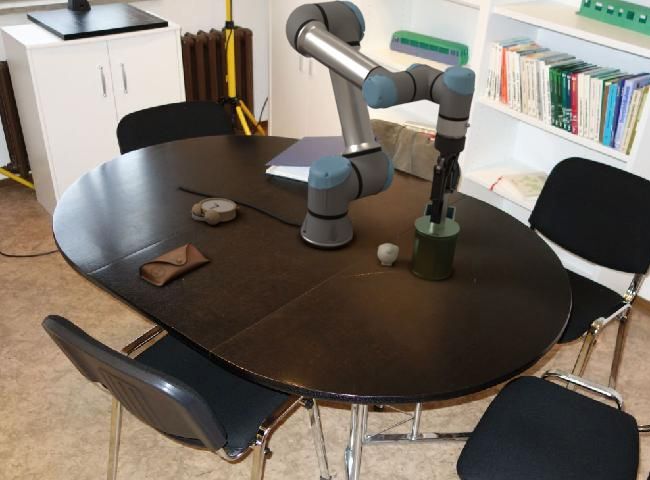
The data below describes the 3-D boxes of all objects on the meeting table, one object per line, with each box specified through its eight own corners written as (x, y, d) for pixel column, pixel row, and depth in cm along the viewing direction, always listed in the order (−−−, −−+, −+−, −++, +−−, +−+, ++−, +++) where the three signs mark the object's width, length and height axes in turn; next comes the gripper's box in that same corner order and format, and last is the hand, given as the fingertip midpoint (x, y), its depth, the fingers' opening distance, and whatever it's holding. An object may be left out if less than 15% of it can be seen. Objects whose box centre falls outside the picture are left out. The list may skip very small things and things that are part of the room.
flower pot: (449, 247, 201) (454, 219, 196) (419, 243, 202) (423, 215, 197) (451, 233, 208) (456, 206, 203) (422, 229, 209) (426, 202, 204)
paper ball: (376, 266, 190) (377, 248, 186) (377, 256, 194) (379, 238, 191) (397, 268, 189) (399, 250, 186) (397, 258, 194) (400, 240, 191)
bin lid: (410, 235, 179) (415, 196, 173) (417, 216, 189) (422, 178, 183) (456, 243, 177) (463, 204, 171) (461, 223, 187) (468, 185, 181)
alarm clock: (244, 205, 210) (210, 214, 199) (242, 220, 212) (209, 230, 201) (217, 194, 215) (182, 202, 204) (215, 209, 217) (181, 218, 206)
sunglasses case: (161, 286, 175) (149, 262, 173) (146, 290, 179) (135, 266, 178) (212, 260, 187) (202, 237, 185) (197, 263, 192) (187, 241, 190)
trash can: (407, 276, 186) (412, 234, 179) (414, 256, 195) (419, 216, 188) (448, 283, 184) (455, 242, 177) (453, 263, 193) (460, 223, 186)
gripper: (454, 147, 161) (440, 235, 174) (476, 126, 174) (461, 210, 187) (424, 140, 163) (412, 228, 176) (447, 120, 176) (435, 203, 189)
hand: (438, 218), depth 181 cm, fingers closed on bin lid, 4 cm apart
